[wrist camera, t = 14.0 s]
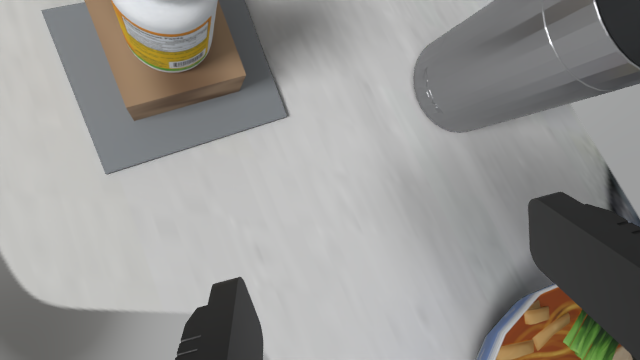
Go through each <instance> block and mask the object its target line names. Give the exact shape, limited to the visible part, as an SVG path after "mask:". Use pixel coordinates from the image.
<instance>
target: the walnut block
mask: <svg viewBox="0 0 640 360" xmlns="http://www.w3.org/2000/svg"><path fill="white" fill-rule="evenodd" d="M85 3H86V6H87V8H88V11H89V13H90V16H91V18H92V21H93V24H94V26H95V29H96V31H97V34H98V37H99V39H100V42H101V44H102V47H103V49H104V52H105V55H106V57H107V60H108V62H109V65H110V67H111V70H112V73H113V75H114V78H115V80H116V83H117V85H118V88H119V91H120V93H121V96H122V98H123V101H124V104H125V106H126V108H127V110H128V112H129V113H130V115H131V117H132V118H133V120H134V121H136V120H140V119H143V118H147V117H150V116H154V115H157V114H161V113H164V112H168V111H171V110H175V109H178V108H182V107H185V106H189V105H192V104H196V103H199V102H203V101H206V100H210V99H213V98H217V97H220V96H224V95H228V94H231V93H235V92H238V91H239V90H240V88H241V86H242V84H243V81H244V79H245V77H246V73H245V70H244V68H243V65H242V62H241V60H240V57H239V54H238V52H237V49H236V46H235V43H234V41H233V38H232V35H231V33H230V30H229V27H228V25H227V22H226V19H225V17H224V14H223V11H222V8H221V6H220V3H219V0H218V3H217V9H216V16H215V23H214V31H213V38H212V43H211V47H210V50H209V52H208V54H207V55H206V57H205V58H204V60H203V61H202V62H201V63H199V64H198V65H197V66H195V67H194V68H192V69H189V70H187V71H183V72H176V73H169V72H163V71H159V70H156V69H153V68H151V67H149V66H148V65H146V64H144V63H143V62H142V61H141V60H139V59H138V58H137V57H136V56H135V55H134V53H133V52H132V51H131V49H130V48H129V46H128V44H127V42H126V40H125V37H124V35H123V32H122V29H121V27H120V24H119V21H118V18H117V16H116V13H115V10H114V8H113V5H112V2H111V0H85Z"/></svg>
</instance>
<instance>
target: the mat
mask: <svg viewBox="0 0 640 360" xmlns="http://www.w3.org/2000/svg"><path fill="white" fill-rule="evenodd" d="M219 3H220V6H221V8H222V11H223V14H224V17H225V19H226V22H227V25H228V27H229V30H230V33H231V35H232V38H233V41H234V43H235V46H236V49H237V52H238V54H239V57H240V60H241V62H242V65H243V68H244V70H245V73H246V77H245V79H244V81H243V84H242V86H241V88H240V90H239V91H238V92H235V93H231V94H228V95H224V96H220V97H217V98H213V99H210V100H206V101H203V102H199V103H196V104H192V105H189V106H185V107H182V108H178V109H175V110H171V111H168V112H164V113H161V114H157V115H154V116H150V117H147V118H143V119H140V120H136V121H134V120H133V118H132V117H131V115H130V113H129V112H128V110H127V108H126V106H125V104H124V101H123V98H122V96H121V93H120V91H119V88H118V85H117V83H116V80H115V78H114V75H113V73H112V70H111V67H110V65H109V62H108V60H107V57H106V55H105V52H104V49H103V47H102V44H101V42H100V39H99V37H98V34H97V31H96V29H95V26H94V24H93V21H92V18H91V16H90V13H89V11H88V8H87V6H86V3H85V2H84V3H79V4H73V5H68V6H62V7H57V8H51V9H46V10H41V11H42V13H43V16H44V19H45V21H46V24H47V26H48V29H49V31H50V34H51V36H52V39H53V41H54V44H55V46H56V49H57V52H58V54H59V57H60V59H61V62H62V64H63V67H64V69H65V72H66V74H67V77H68V80H69V82H70V85H71V87H72V90H73V92H74V95H75V97H76V100H77V102H78V105H79V107H80V110H81V113H82V115H83V118H84V120H85V123H86V125H87V128H88V130H89V133H90V135H91V138H92V140H93V143H94V146H95V148H96V151H97V153H98V156H99V158H100V161H101V163H102V166H103V168H104V171H105V174H109V173H113V172H116V171H119V170H122V169H125V168H128V167H131V166H135V165H138V164H141V163H144V162H147V161H150V160H153V159H157V158H160V157H163V156H166V155H169V154H172V153H175V152H178V151H182V150H185V149H188V148H191V147H194V146H197V145H200V144H204V143H207V142H210V141H213V140H216V139H219V138H222V137H226V136H229V135H232V134H235V133H238V132H241V131H244V130H248V129H251V128H254V127H257V126H260V125H263V124H266V123H269V122H273V121H276V120H279V119H282V118H285V117H287V115H286V112H285V109H284V106H283V104H282V101H281V98H280V96H279V93H278V90H277V87H276V85H275V82H274V79H273V77H272V74H271V71H270V68H269V66H268V63H267V60H266V58H265V55H264V52H263V49H262V47H261V44H260V41H259V39H258V36H257V33H256V30H255V28H254V25H253V22H252V20H251V17H250V14H249V11H248V9H247V6H246V3H245V1H244V0H219Z"/></svg>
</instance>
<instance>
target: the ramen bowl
mask: <svg viewBox="0 0 640 360" xmlns="http://www.w3.org/2000/svg"><path fill="white" fill-rule="evenodd" d="M476 360H637V359H635V358H634V357H633V356H632V355H631V354H630V353H629V352H628V351H627V350H626V349H625V348H624V347H623V346H621V345H620V344H619V343H618V342H617V341H616V340H615V339H614V338H613V337H612V336H611V335H610V334H609V333H607V332H606V331H605V330H604V329H603V328H602V327H601V326H600V325H599V324H598V323H597V322H596V321H595V320H593V319H592V318H591V317H590V316H589V315H588V314H587V313H586V312H585V311H584V310H583V309H582V308H581V307H579V306H578V305H577V304H576V303H575V302H574V301H573V300H572V299H571V298H570V297H569V296H568V295H567V294H565V293H564V292H563V291H562V290H561V289H560V288H559V287H558V286H557V285H556V284H552V285H550V286H548V287H545V288H543V289H541V290H538V291H536V292H534V293H531V294H529V295H527V296H525V297H523V298H522V299H520V300H519V301H517V302H516V303H515V304H514V305H513V306H512V307H511V309H510V310H509V311H508V312H507V313H506V314H505V315H504V316H503V318H502V319H501V320H500V321H499V322H498V323H497V324H496V325H495V327H494V328H493V329H492V330H491V331H490V332H489V333H488V334H487V336H486V337H485V339H484V341H483V344H482V346H481V349H480V351H479V353H478V356H477V358H476Z"/></svg>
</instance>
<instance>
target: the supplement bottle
mask: <svg viewBox="0 0 640 360" xmlns="http://www.w3.org/2000/svg"><path fill="white" fill-rule="evenodd" d="M111 2H112V5H113V8H114V10H115V13H116V16H117V18H118V21H119V24H120V27H121V29H122V32H123V35H124V37H125V40H126V42H127V44H128V46H129V48H130V49H131V51H132V52H133V53H134V55H135V56H136V57H137V58H138V59H139V60H141V61H142V62H143V63H144V64H146V65H148V66H149V67H151V68H153V69H156V70H159V71H163V72H169V73H176V72H183V71H187V70H189V69H192V68H194V67H195V66H197V65H198V64H199V63H201V62H202V61H203V60H204V58H205V57H206V55H207V54H208V52H209V50H210V47H211V43H212V38H213V31H214V23H215V16H216V9H217V3H218V0H111Z"/></svg>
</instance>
